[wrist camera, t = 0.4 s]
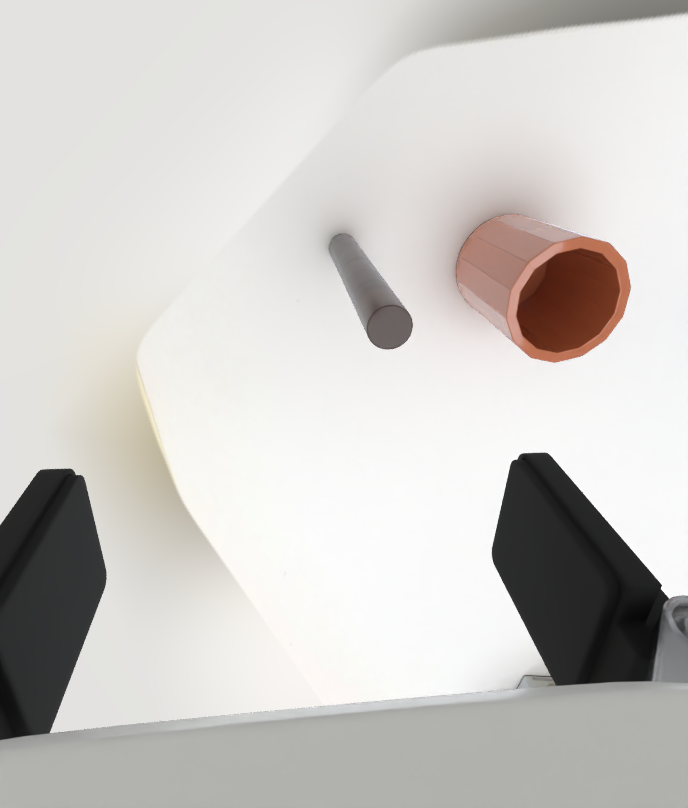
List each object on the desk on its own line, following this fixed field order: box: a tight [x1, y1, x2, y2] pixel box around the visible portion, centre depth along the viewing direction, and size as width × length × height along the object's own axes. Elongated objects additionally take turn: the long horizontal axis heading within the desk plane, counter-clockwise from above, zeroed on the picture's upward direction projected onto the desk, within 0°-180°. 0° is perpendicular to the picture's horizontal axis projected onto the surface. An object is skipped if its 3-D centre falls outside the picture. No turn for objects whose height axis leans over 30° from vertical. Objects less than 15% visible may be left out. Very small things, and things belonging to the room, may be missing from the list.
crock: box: [456, 214, 631, 363], centre depth 32 cm, size 7×7×9 cm
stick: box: [329, 234, 413, 349], centre depth 27 cm, size 2×2×16 cm
